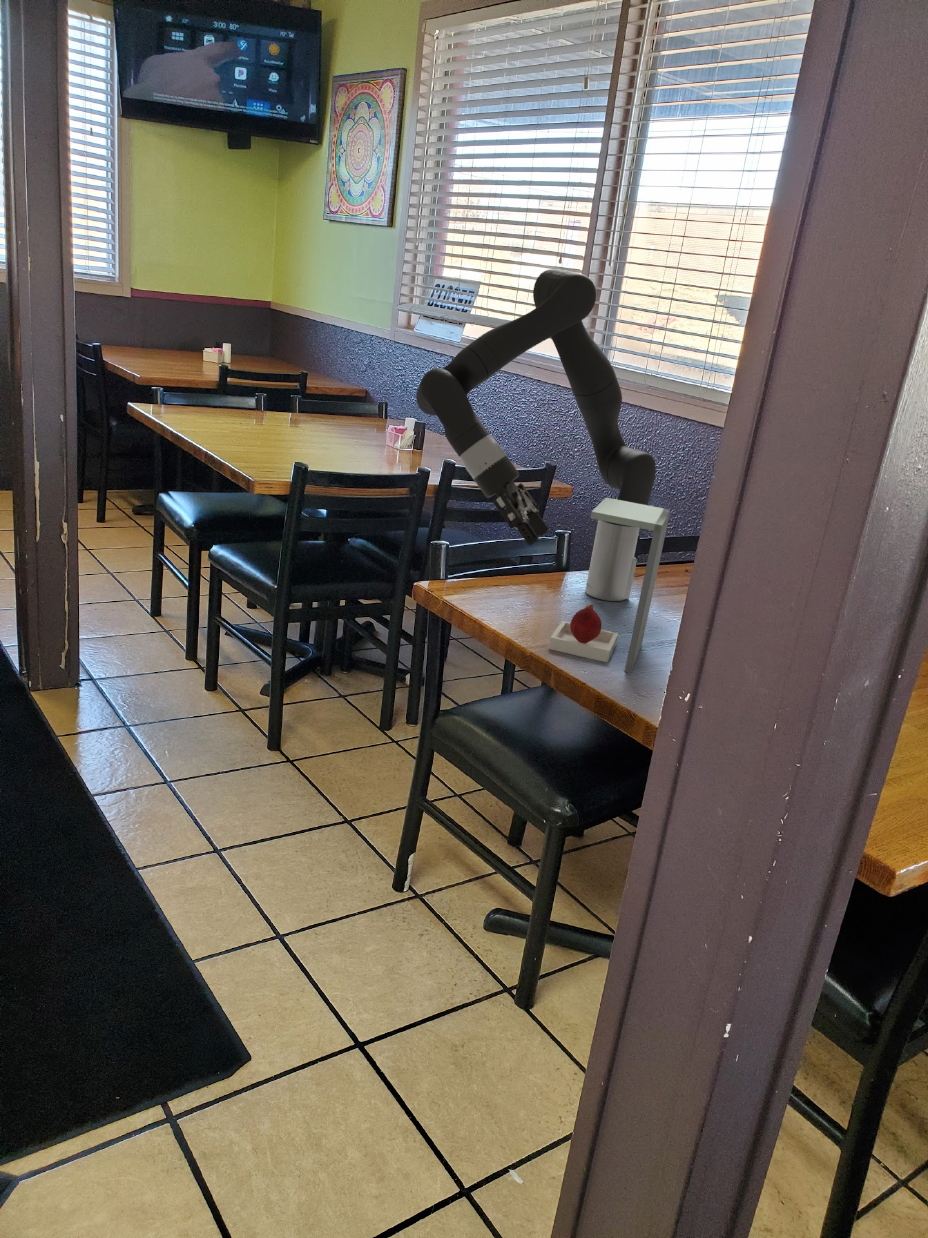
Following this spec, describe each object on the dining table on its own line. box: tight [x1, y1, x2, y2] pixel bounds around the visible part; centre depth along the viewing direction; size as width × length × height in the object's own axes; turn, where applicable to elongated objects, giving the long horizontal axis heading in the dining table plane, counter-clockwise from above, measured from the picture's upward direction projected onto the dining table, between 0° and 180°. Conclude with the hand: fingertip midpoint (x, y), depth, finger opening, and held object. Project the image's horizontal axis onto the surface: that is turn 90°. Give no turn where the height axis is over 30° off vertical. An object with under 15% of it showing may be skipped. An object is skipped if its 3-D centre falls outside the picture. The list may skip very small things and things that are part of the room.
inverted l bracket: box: [590, 497, 671, 674], centre depth 170 cm, size 12×16×27 cm
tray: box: [548, 620, 619, 663], centre depth 175 cm, size 11×11×2 cm
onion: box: [570, 603, 602, 644], centre depth 174 cm, size 6×6×8 cm
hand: (539, 537), depth 172 cm, fingers open, 8 cm apart
